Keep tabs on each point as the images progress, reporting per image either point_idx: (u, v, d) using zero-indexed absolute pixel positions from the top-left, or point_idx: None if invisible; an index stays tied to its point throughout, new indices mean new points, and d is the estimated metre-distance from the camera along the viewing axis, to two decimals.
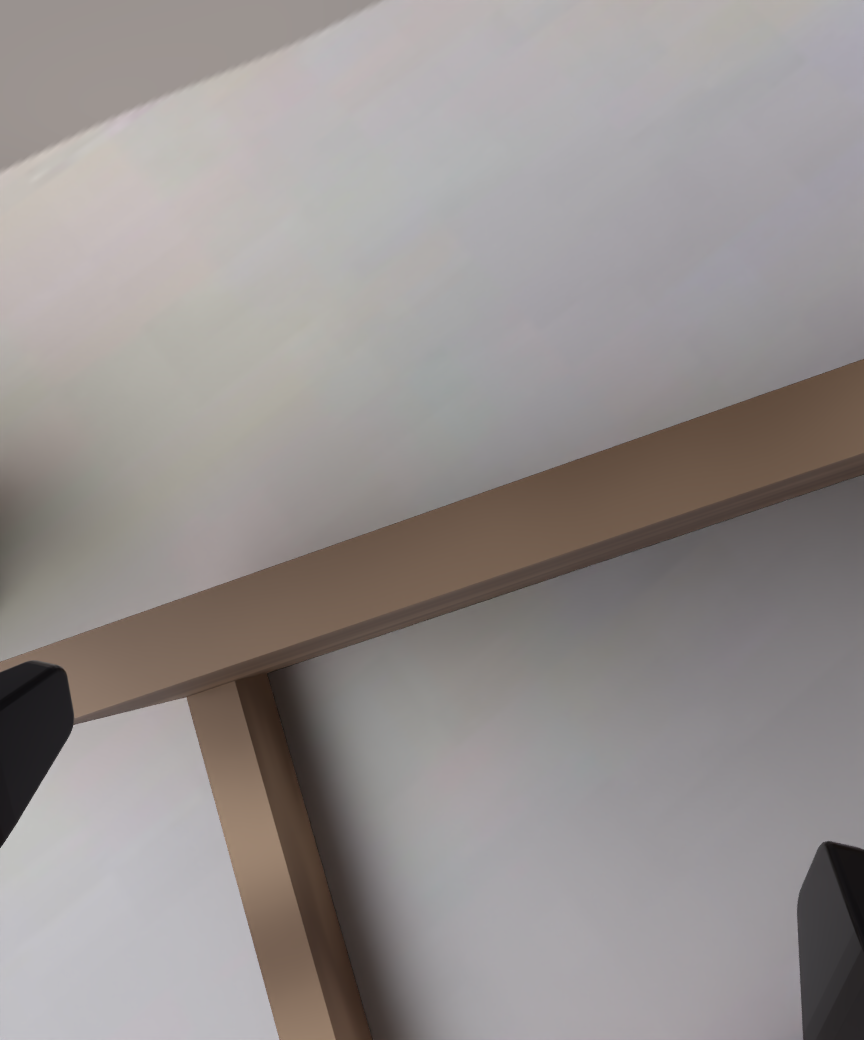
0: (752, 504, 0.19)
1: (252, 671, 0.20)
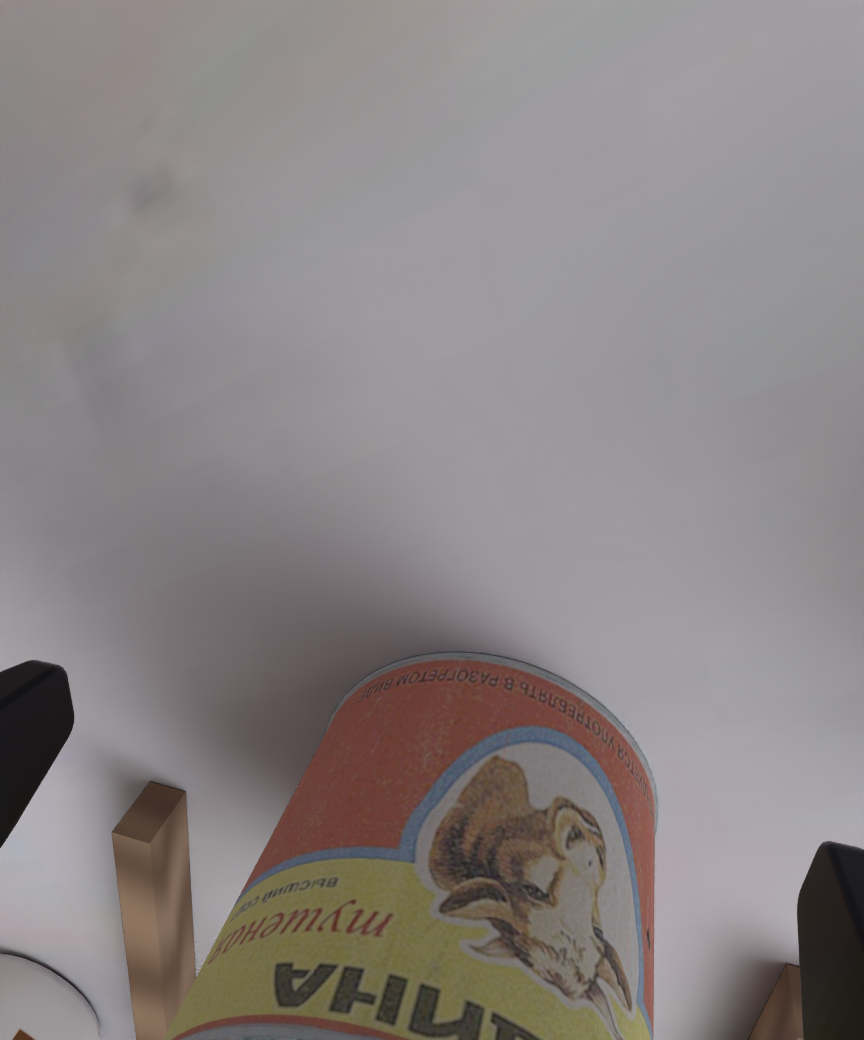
0: None
1: None
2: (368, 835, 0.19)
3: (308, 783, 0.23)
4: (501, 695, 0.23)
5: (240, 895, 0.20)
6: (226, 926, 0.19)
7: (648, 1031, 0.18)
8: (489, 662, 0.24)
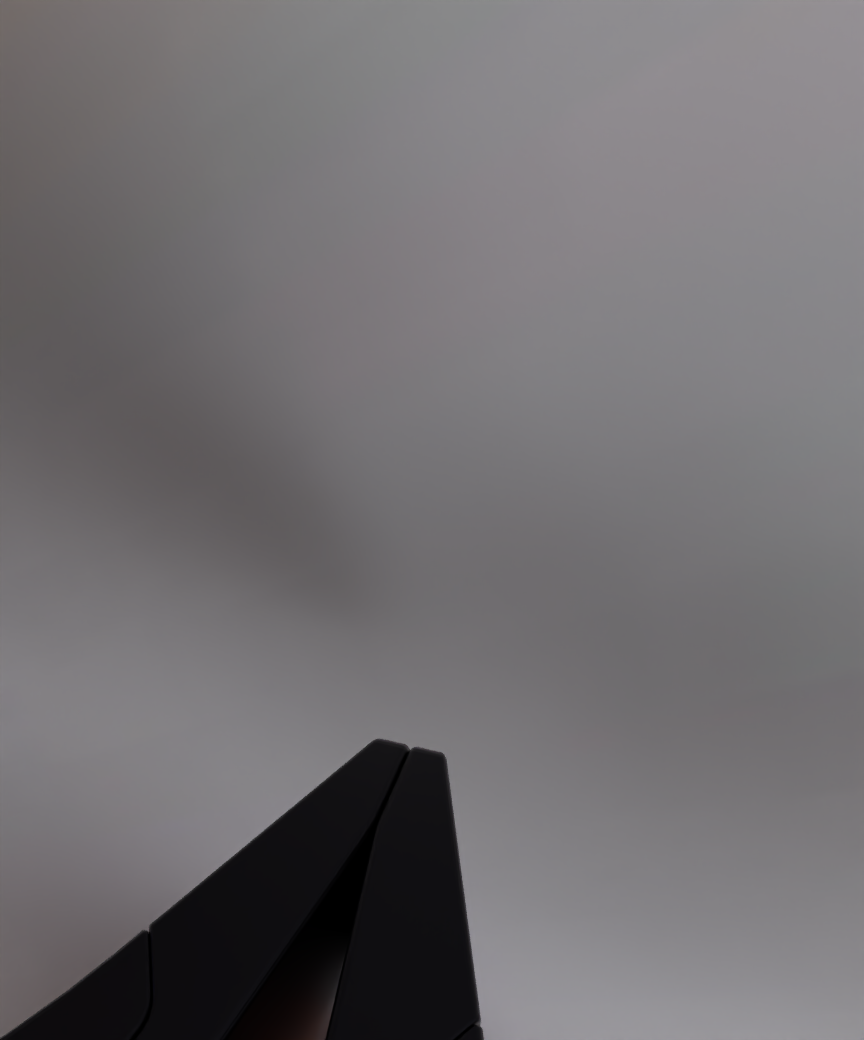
0: None
1: None
2: None
3: None
4: None
5: None
6: None
7: None
8: None
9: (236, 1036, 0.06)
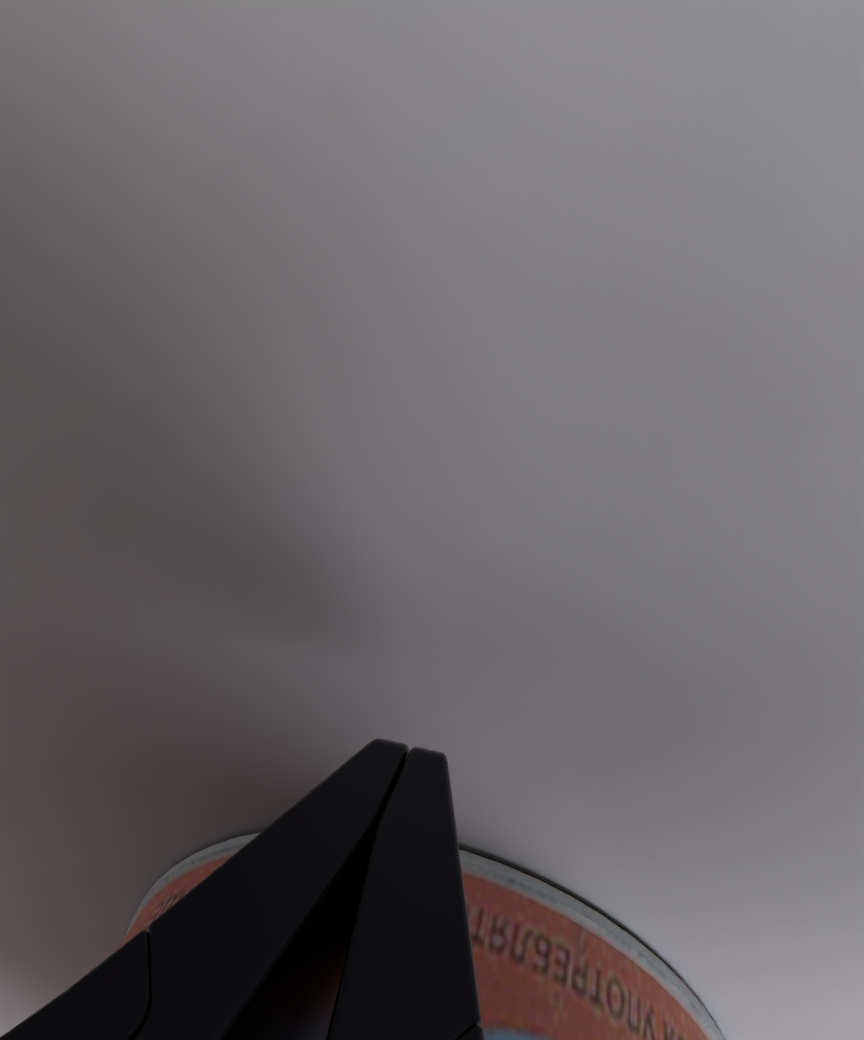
0: None
1: None
2: None
3: None
4: None
5: None
6: None
7: None
8: None
9: (235, 1036, 0.06)
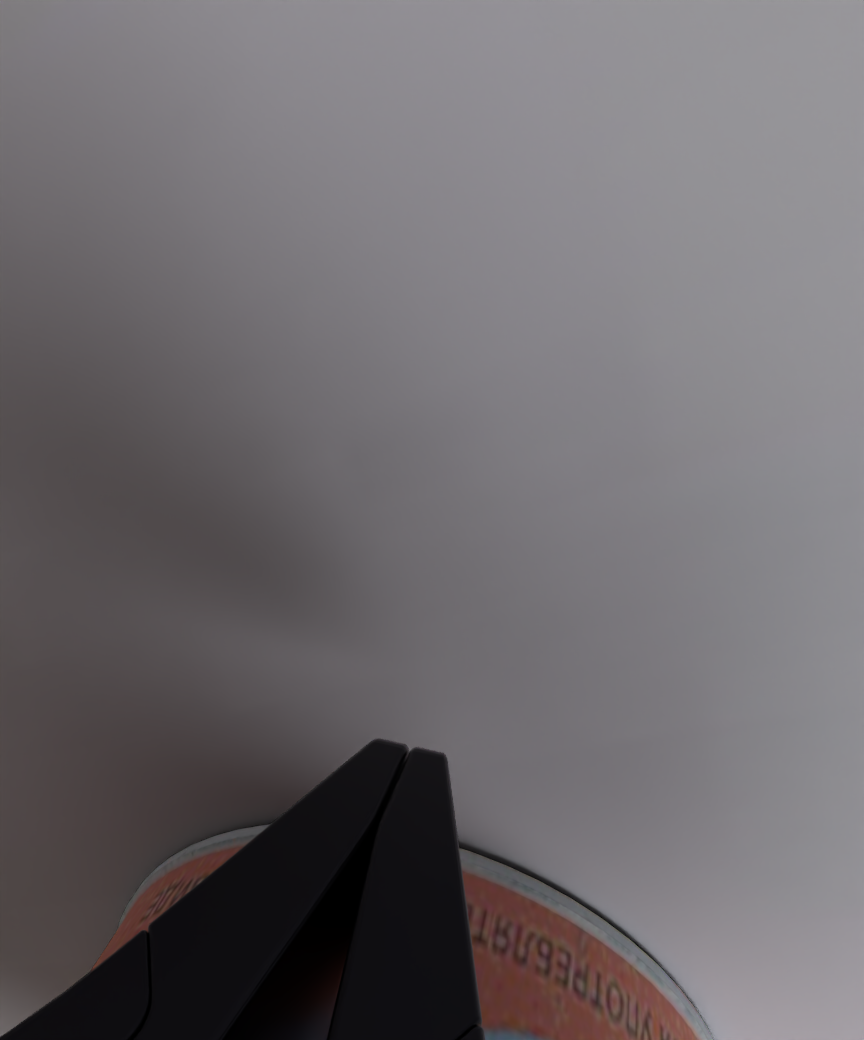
0: None
1: None
2: None
3: None
4: None
5: None
6: None
7: None
8: None
9: (235, 1036, 0.06)
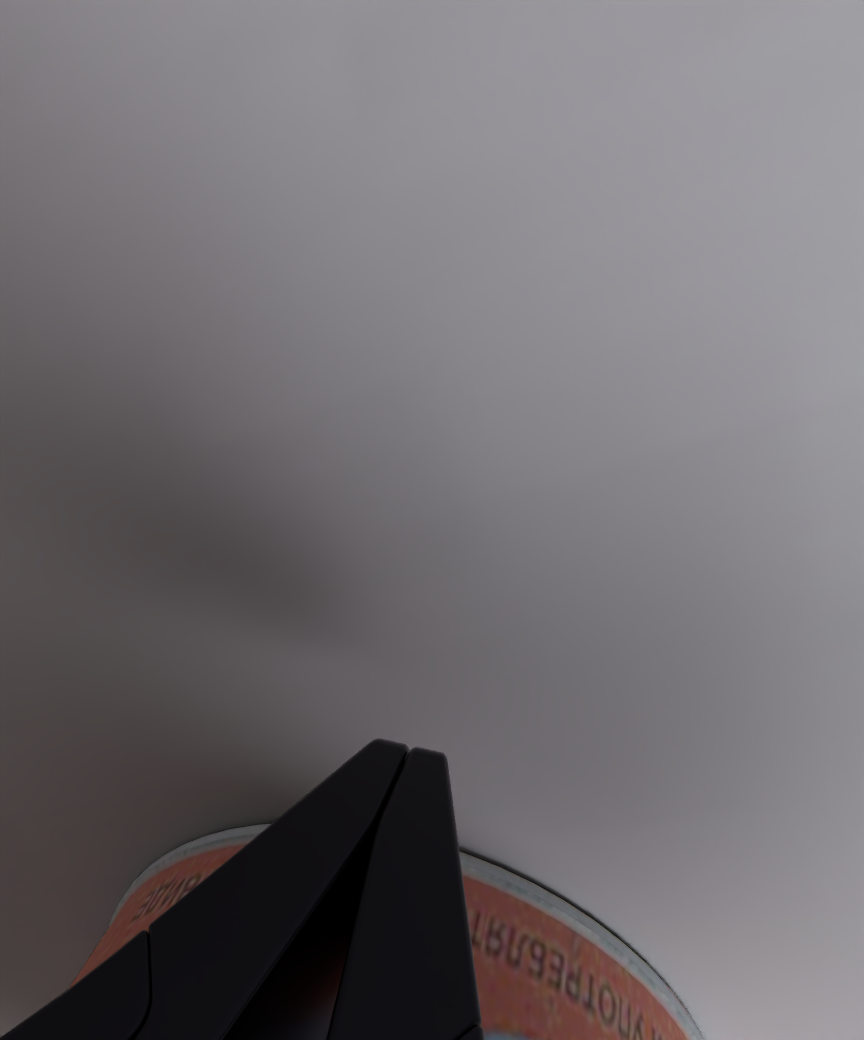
0: None
1: None
2: None
3: None
4: None
5: None
6: None
7: None
8: None
9: (235, 1036, 0.06)
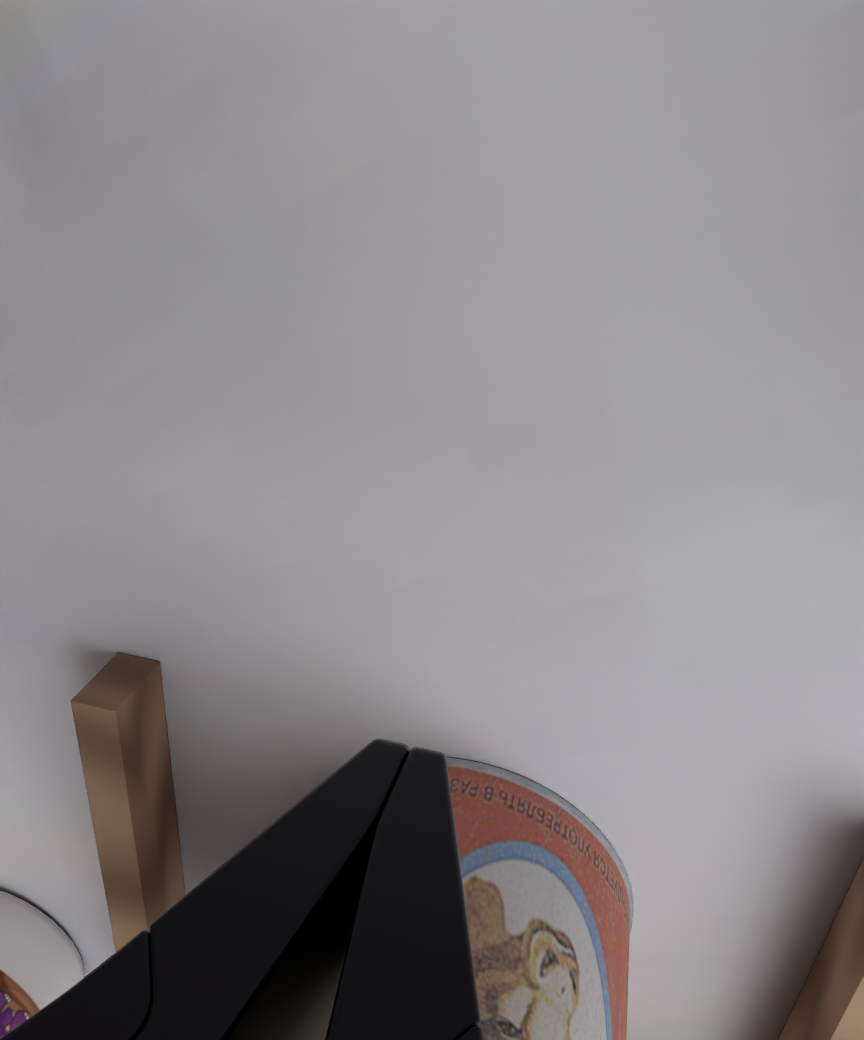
0: None
1: None
2: None
3: None
4: (481, 807, 0.24)
5: None
6: None
7: None
8: (470, 769, 0.25)
9: (236, 1036, 0.06)
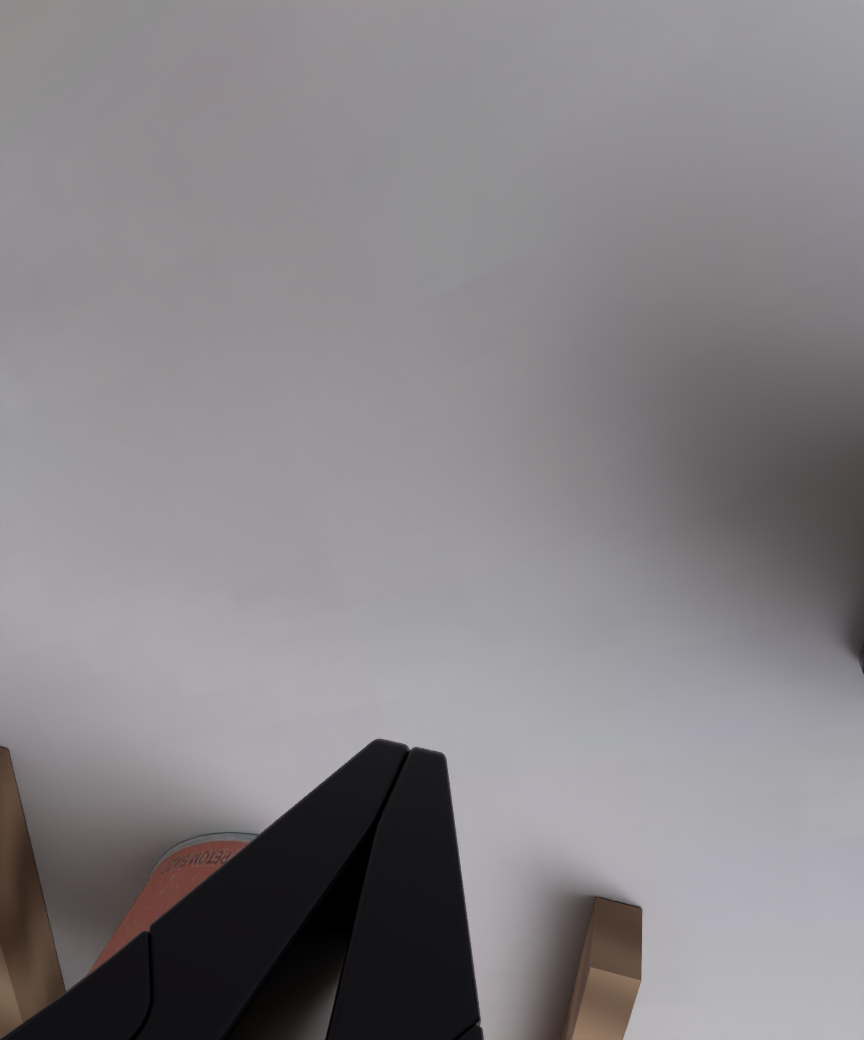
0: None
1: None
2: None
3: (102, 956, 0.27)
4: None
5: None
6: None
7: None
8: None
9: (236, 1036, 0.06)
